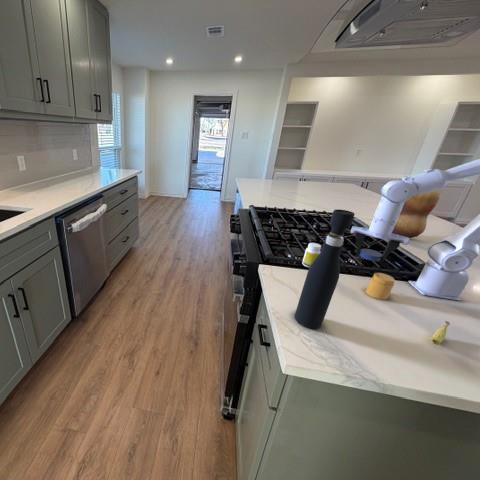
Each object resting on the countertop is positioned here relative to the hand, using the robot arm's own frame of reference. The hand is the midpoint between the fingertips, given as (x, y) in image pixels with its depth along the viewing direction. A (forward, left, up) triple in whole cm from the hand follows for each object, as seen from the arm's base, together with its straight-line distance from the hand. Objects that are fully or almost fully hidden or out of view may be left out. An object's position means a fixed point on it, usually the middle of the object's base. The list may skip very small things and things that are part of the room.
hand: (369, 257), depth 85 cm
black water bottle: (+24, +31, -8) cm, 40 cm away
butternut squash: (-35, -49, -8) cm, 61 cm away
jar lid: (0, 0, +2) cm, 2 cm away
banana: (-5, +29, -8) cm, 30 cm away
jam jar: (0, +11, -8) cm, 13 cm away
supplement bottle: (+16, -3, -8) cm, 18 cm away
